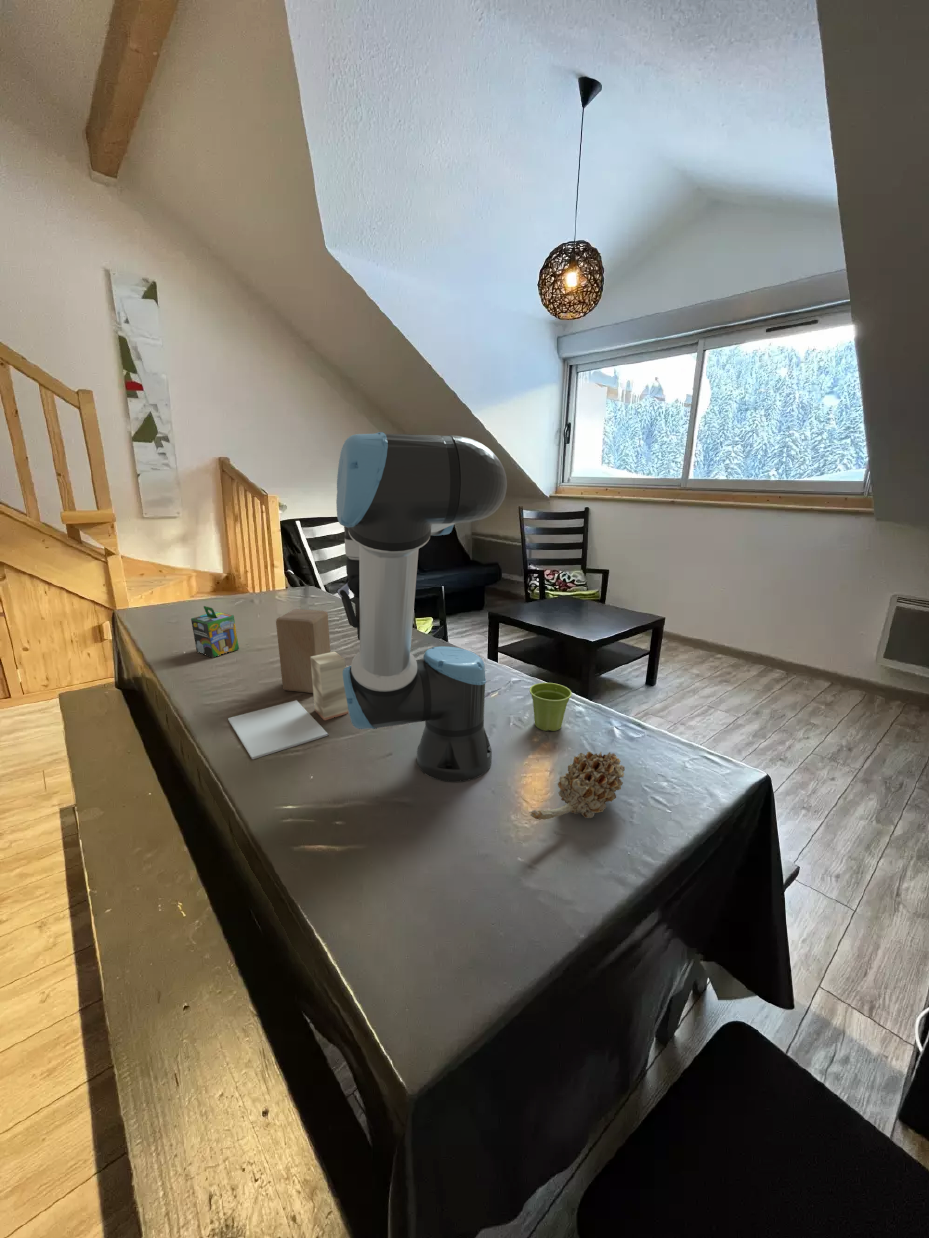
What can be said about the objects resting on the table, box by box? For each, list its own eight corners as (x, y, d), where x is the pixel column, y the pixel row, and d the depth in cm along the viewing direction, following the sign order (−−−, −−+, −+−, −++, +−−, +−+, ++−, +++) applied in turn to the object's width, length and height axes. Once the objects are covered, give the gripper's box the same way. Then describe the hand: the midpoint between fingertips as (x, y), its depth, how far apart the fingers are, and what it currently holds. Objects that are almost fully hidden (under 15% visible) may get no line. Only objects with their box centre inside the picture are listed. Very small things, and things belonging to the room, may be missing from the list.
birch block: (348, 713, 121) (345, 659, 117) (324, 720, 118) (320, 664, 114) (338, 704, 126) (334, 651, 122) (314, 710, 122) (310, 656, 118)
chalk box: (239, 650, 161) (234, 605, 156) (212, 658, 153) (205, 612, 149) (222, 644, 165) (216, 600, 161) (195, 652, 158) (188, 607, 154)
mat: (328, 735, 111) (327, 733, 111) (252, 759, 102) (252, 757, 102) (296, 701, 127) (296, 700, 126) (228, 720, 117) (228, 718, 117)
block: (316, 695, 130) (310, 621, 125) (281, 691, 132) (273, 618, 126) (333, 679, 140) (329, 610, 134) (300, 676, 142) (294, 607, 136)
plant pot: (544, 711, 123) (546, 678, 121) (576, 725, 117) (579, 691, 114) (519, 724, 117) (521, 690, 114) (552, 740, 111) (555, 704, 108)
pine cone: (586, 777, 98) (590, 731, 95) (632, 800, 91) (638, 752, 88) (512, 833, 83) (515, 781, 80) (561, 865, 76) (566, 809, 73)
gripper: (379, 551, 123) (383, 642, 130) (328, 557, 116) (335, 653, 123) (395, 556, 117) (397, 651, 125) (342, 562, 110) (348, 662, 117)
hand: (366, 652), depth 124 cm, fingers closed
